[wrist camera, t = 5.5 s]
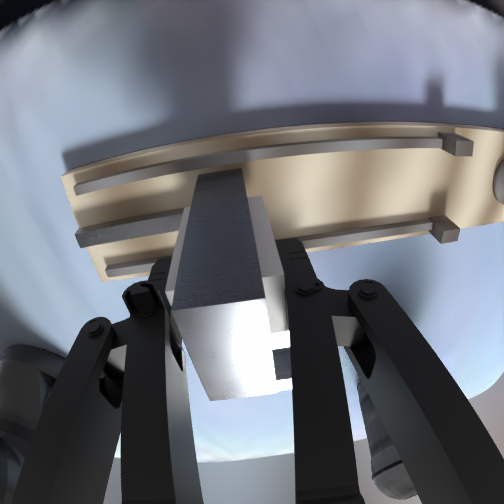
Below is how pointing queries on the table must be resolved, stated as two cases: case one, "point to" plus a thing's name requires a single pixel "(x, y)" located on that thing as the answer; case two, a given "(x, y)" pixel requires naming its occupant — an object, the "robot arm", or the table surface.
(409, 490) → the beverage cup
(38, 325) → the table surface
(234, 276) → the grey l-shaped block
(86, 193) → the board
